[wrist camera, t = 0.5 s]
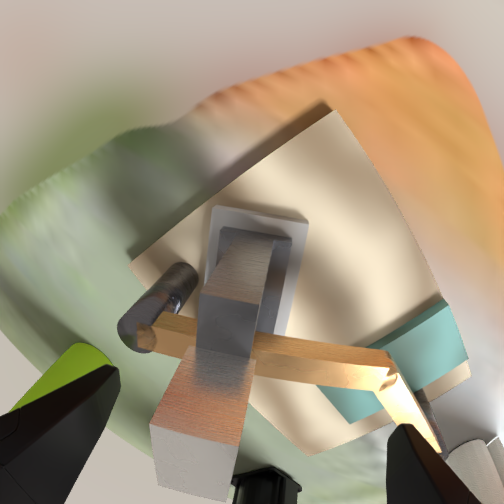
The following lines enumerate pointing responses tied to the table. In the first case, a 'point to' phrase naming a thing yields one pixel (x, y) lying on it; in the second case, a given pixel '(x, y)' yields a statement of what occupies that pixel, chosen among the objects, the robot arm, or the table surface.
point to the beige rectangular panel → (327, 279)
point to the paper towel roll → (480, 469)
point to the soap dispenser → (65, 371)
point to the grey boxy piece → (219, 366)
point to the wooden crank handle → (278, 353)
